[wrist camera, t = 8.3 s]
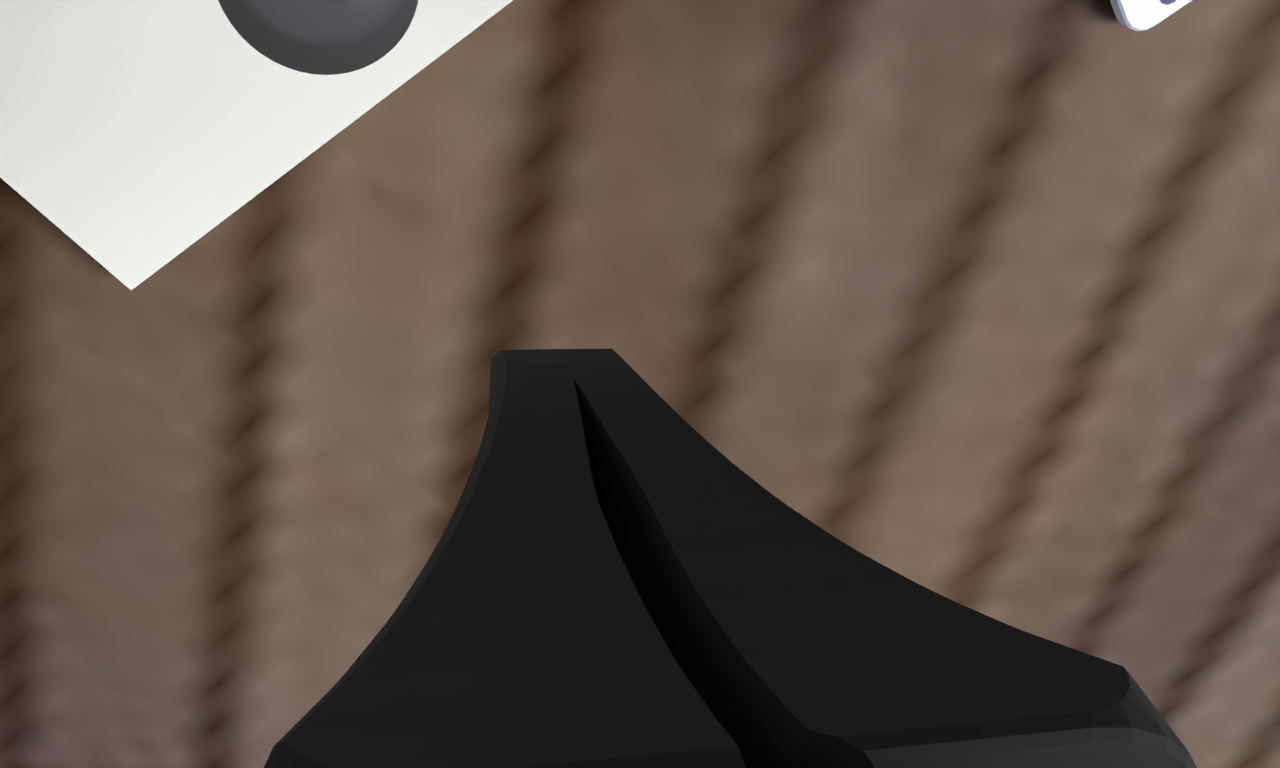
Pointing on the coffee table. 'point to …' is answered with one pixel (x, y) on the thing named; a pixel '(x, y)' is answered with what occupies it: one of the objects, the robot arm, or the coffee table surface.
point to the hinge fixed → (321, 31)
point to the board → (172, 115)
